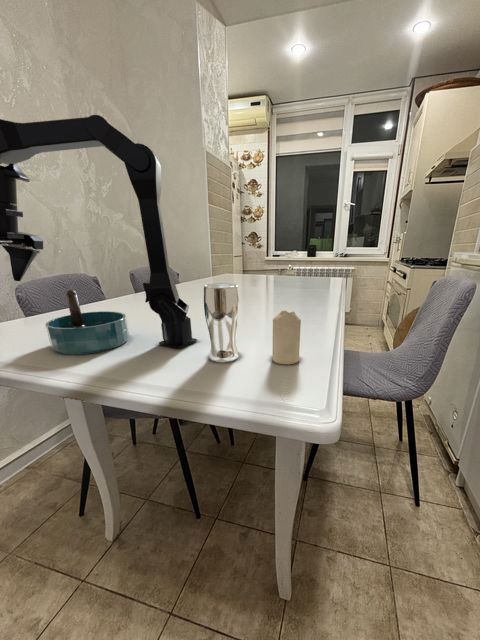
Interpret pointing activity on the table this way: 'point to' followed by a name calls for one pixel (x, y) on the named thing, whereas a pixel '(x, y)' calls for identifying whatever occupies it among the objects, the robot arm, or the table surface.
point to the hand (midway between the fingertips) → (2, 283)
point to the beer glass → (222, 320)
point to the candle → (286, 338)
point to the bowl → (88, 333)
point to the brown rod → (74, 309)
